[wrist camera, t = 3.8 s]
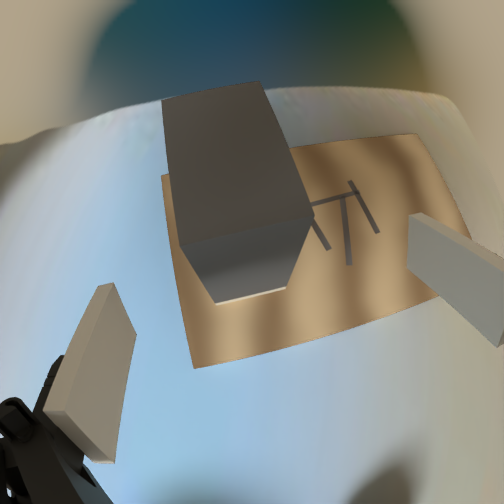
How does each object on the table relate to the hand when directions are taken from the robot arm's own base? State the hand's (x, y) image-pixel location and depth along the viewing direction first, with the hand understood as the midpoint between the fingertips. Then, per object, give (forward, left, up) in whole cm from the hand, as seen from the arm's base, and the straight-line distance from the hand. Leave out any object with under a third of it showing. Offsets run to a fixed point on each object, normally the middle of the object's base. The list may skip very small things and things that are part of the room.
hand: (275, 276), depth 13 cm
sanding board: (-1, +9, -10) cm, 14 cm away
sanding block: (-5, +2, -9) cm, 11 cm away
